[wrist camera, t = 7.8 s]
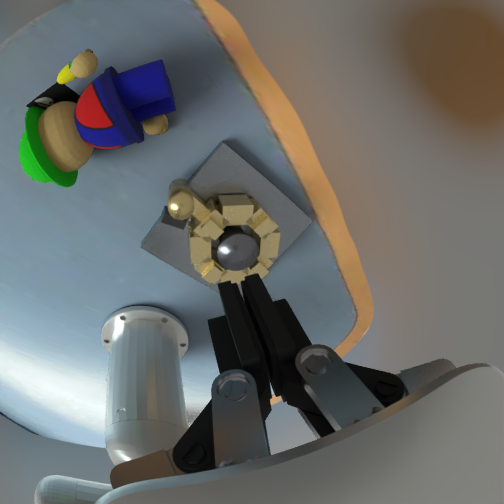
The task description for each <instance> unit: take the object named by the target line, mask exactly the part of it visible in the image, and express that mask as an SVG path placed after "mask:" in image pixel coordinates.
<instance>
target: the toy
mask: <svg viewBox="0 0 504 504" xmlns="http://www.w3.org/2000/svg"><path fill="white" fill-rule="evenodd" d="M97 65H98V60H97V57H96V56H95V55H94V54H93V51H92V50H90V49H87V50H85V52H82V53H80V54H79V55H78V56H77V57H76V58H75V59H74V60H73V61H72V62H70V63H69V64H68V65H66V66H65V67H64V68H63V69H62V70H61V72H60V73H59V75H58V77H57V83H56V84H54V85H53V86H51V87H50V88H49V89H47V90H46V91H45V92H43V93H42V94H41V95H39V96H38V97H37V98H35V99H34V100H33V101H32V102H30V103H29V104H28V105H27V107H29V109H28V111H27V113H26V117H25V132H24V133H23V135H22V138H21V141H20V145H19V159H20V162H21V165H22V168H23V169H24V171H25V172H26V174H27V175H28V176H29V177H31V178H32V179H34V180H36V181H38V182H44V183H47V182H54V183H56V184H58V185H60V186H62V187H70V186H72V185H74V184H75V182H76V179H77V175H78V169H79V168H80V167H82V166H83V165H84V164H85V163H86V162H87V161H88V160H89V158H90V156H91V154H92V152H93V149H94V147H96V148H100V149H115V148H120V147H124V146H127V145H130V144H133V143H135V142H137V143H140V142H142V141H144V133H143V129H142V126H141V123H140V122H141V121H144V123H143V128H144V130H145V132H146V133H148V134H151V135H155V134H159V135H160V134H163V133H165V132H167V131H168V122H167V121H168V119H167V117H166V116H165V115H164V114H166V113H170V112H173V111H176V108H175V102H174V97H173V93H172V89H171V85H170V81H169V78H168V76H167V75H166V71H165V67H164V64H163V61H162V60H158V61H155V62H151V63H148V64H145V65H142V66H139V67H136V68H133V69H130V70H128V71H125V72H122V73H119V74H118V73H117V72H116V70H115V69H114V68H113V67H112V66H111V67H109V68H107V69H106V70H105V72H104V73H103V74H101V75H100V76H98V77H97V78H96V79H95V80H94V81H93V82H92V83H91V84H90V85H89V86H88V87H87V88H86V89H85V90H84V92H83V93H82V95H81V96H79V95H78V94H77V93H75V92H74V91H73V90H71V89H70V88H69V87H67V86H66V85H65V83H68V82H70V81H72V80H73V79H75V78H76V77H79V78H85V77H88V76H90V75H91V74H92V73H93V72H94V71H95V70H96V68H97Z"/></svg>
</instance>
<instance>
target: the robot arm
mask: <svg viewBox="0 0 504 504" xmlns="http://www.w3.org/2000/svg"><path fill="white" fill-rule="evenodd" d="M240 283H241V288H242V293H243V298H244V300H243V298H242V295H241V293H240V290H239V287H238V285H237V283H231V281H230V280H229V281H225V282H221V283H218V284H217V285H218V289H219V293H220V296H221V300H222V304H223V308H224V312H225V315H224V316H221V317H217V318H213V319H209V320H208V325H209V330H210V334H211V338H212V343H213V347H214V351H215V355H216V360H217V364H218V368H219V372H220V374H219V375H218V376H217V377H216V378H215V380H214V382H213V384H212V389H211V395H212V399H211V400H210V402H209V403H208V404H207V406H206V407H205V408H204V409H203V411H202V412H201V413H200V415H199V416H198V417H197V418H196V420H195V421H194V422H193V423H192V425H191V426H190V427H189V425H188V419H187V413H186V406H185V399H184V392H183V385H182V377H181V369H180V359H181V358H182V357H183V356H184V354H185V353H186V351H187V349H188V343H189V342H188V334H187V330H186V329H185V327H184V325H183V324H182V323H181V321H180V320H179V319H178V318H176V317H175V316H174V315H172V314H170V313H168V312H167V311H164V310H161V309H159V308H155V307H150V306H130V307H126V308H122V309H120V310H118V311H116V312H114V313H113V314H112V315H110V316H109V317H108V318H107V320H106V321H105V323H104V325H103V329H102V336H101V339H102V343H103V346H104V348H105V349H106V351H107V352H108V353H109V355H110V359H109V370H108V375H107V376H106V382H107V397H106V423H105V444H106V448H107V451H108V454H109V457H110V458H111V460H112V462H113V463H114V465H115V467H114V468H113V469H112V470H111V473H110V482H111V485H110V484H103V483H98V482H92V481H87V480H82V479H76V478H71V477H66V476H60V475H50V476H47V477H45V478H43V479H42V480H41V481H40V482H39V483H38V485H37V488H36V492H35V504H504V374H503V373H502V372H501V371H500V370H499V369H498V368H496V367H495V366H493V365H490V364H487V363H474V364H468V365H465V366H461V367H458V368H456V366H455V365H454V364H453V363H452V362H451V361H449V360H447V359H437V360H434V361H431V362H428V363H425V364H422V365H419V366H415V367H412V368H409V369H405V370H401V371H400V372H399V374H395V375H394V374H391V373H387V372H383V371H379V370H375V369H371V368H367V367H362V366H358V365H354V364H350V363H347V362H344V361H343V360H342V359H341V358H340V357H339V356H338V355H337V353H336V352H335V351H334V350H332V349H331V348H330V347H328V346H325V345H320V344H315V345H312V344H311V342H310V340H309V338H308V337H307V335H306V333H305V332H304V330H303V328H302V326H301V325H300V323H299V321H298V319H297V318H296V316H295V314H294V312H293V311H292V309H291V307H290V306H289V304H288V302H287V301H286V299H281V300H278V301H274V302H273V301H272V299H271V297H270V295H269V293H268V291H267V289H266V287H265V285H264V284H263V282H262V280H261V278H260V276H259V274H258V273H255V274H252V275H248V276H245V280H243V281H240ZM269 381H270V382H269ZM270 383H271V386H272V388H273V391H274V393H275V396H276V397H278V396H281V397H282V400H283V402H286V401H287V403H288V405H291V406H294V407H296V408H297V410H298V412H299V413H300V415H301V416H302V418H303V419H304V421H305V422H306V424H307V425H308V427H309V428H310V429H311V431H312V432H313V434H314V435H315V437H316V438H317V440H315V441H312V442H309V443H307V444H304V445H301V446H298V447H295V448H292V449H289V450H286V451H283V452H280V453H277V454H274V455H271V452H270V446H269V440H268V435H267V429H266V423H265V420H266V418H267V417H268V415H269V413H270V412H271V410H272V409H271V404H270V399H271V398H272V394H271V388H270Z"/></svg>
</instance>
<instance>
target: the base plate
mask: <svg viewBox="0 0 504 504" xmlns="http://www.w3.org/2000/svg"><path fill="white" fill-rule="evenodd" d="M188 182H189V184H190V186H191V190H192V191H193V192H194V193H195V194H196V195H197V196H198V197H199V198H200V199H202V200H203V201H204V202H205V203H207V202H208V201H209V200H210V199H212V200H214V201H215V202H216V203H217V204H218V195H247V196H248V198H249V199H251V198H252V197H253V198H254V199H255V200H256V201H257V202H258V203H259V204H260V205H261V206H262V207H263V208H264V209H265V210H266V212H267V213H268V214H269V215H270V216H271V217H272V219H273V220H274V221H275V222H276V224H277V225H278V226H279V227H278V228H277V229H278V230H279V231H280V241H279V248H278V256H277V257H274V258H271V259H272V261H273V262H275V261H276V260H277V259H278V258H279V257H280V256H281V254H282V253H283V252H284V251H285V250H286V249H287V248H288V247H289V246H290V245H291V244H292V243H293V242H294V241H295V240H296V239H297V238H298V237H299V236H300V234H301V233H302V232H303V231H304V230H305V229H306V228H307V227H308V226H309V225H310V224H311V223H312V222H313V221H312V220H311V219H310V218H309V217H308V216H307V215H306V214H305V213H304V212H303V211H302V210H301V209H300V208H299V207H297V206H296V205H295V204H294V203H293V202H292V201H291V200H290V199H289V198H288V197H286V196H285V195H284V194H283V193H282V192H281V191H280V190H279V189H277V188H276V187H275V186H274V185H273V184H272V183H271V182H270V181H268V180H267V179H266V178H265V177H264V176H263V175H262V174H260V173H259V172H258V171H257V170H256V169H255V168H253V167H252V166H251V165H250V164H249V163H248V162H246V161H245V160H244V159H243V158H242V157H240V156H239V155H238V154H237V153H236V152H234V151H233V150H232V149H231V148H230V147H228V146H227V145H226V144H225V143H223V142H222V141H221V142H220V143H219V145H218V146H217V147H216V148H215V149H214V150H213V152H212V153H211V154H210V155H209V156H208V157H207V159H206V160H205V161H204V162H203V163H202V164H201V166H200V167H199V168H198V169H197V170H196V172H195V173H194V174H193V175H192V177H191V178H190V179H189V180H188ZM192 217H193V215H191V216H190V217H189V218H187V219H185V220H177V219H175V218H173V217H172V216H171V215H170V214H169V211H168V207H167V206H165V207H164V209H163V212H162V214H161V216H160V218H159V219H158V220H157V222H156V223H155V224H154V226H153V227H152V228H151V230H150V231H149V233H148V234H147V235H146V237H145V238H144V240H143V241H142V243H141V248H142V249H144V250H145V251H147V252H149V253H150V254H152V255H154V256H155V257H157V258H159V259H161V260H162V261H164V262H166V263H167V264H169V265H171V266H173V267H174V268H176V269H178V270H179V271H181V272H183V273H185V274H186V275H188V276H190V277H192V278H193V279H195V280H197V281H199V282H201V283H202V284H204V285H206V286H208V287H210V288H211V289H213V290H215V291H217V292H219V289H218V285H217V284H218V283H220V280H218V281H217V282H216V283H215V284H214V283H211V284H210V283H209V282H207V281H206V280H205V279H203V278H202V275H201V274H200V273H199V272H197V271H196V270H195V269H194V263H193V264H191V258H190V251H189V227H188V224H192V220H191V218H192ZM223 230H224V232H223V233H222V234H221V235H220V236H219V237H218V238H217V239H216V240H214V239H212V240H211V248H213V249H214V250H215V251H216V252H217V256H218V259H219V262H220V264H221V265H222V266H223V267H224V268H226V269H228V270H231V271H240V270H244V269H246V268H248V267H250V266H251V265H252V264H253V263H254V262H255V261H256V259H257V257H258V253H259V249H258V245H257V243H256V241H255V239H254V238H253V229H252V228H251V227H250V226H249V225H229V226H226V227H225V228H224V229H223ZM237 285H238V287H239V290H240V293H241V295H243V293H242V288H241V284H237Z"/></svg>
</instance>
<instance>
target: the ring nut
mask: <svg viewBox="0 0 504 504" xmlns="http://www.w3.org/2000/svg"><path fill="white" fill-rule="evenodd" d="M168 211H169V214H170V215H171V216H172V217H173V218H175V219H177V220H185V219H187V218H189V217H190V216H191V215H193V217H192V218H191V220H192V224H188V227H189V251H190V258H191V264H193V263H194V269H195V270H196V271H197V272H199V273H200V274H201V275H202V278H203V279H205V280H206V281H207V282H209V283H210V284H211V283H214V284H215V283H216V282H217V281H218V280H220V283H221V282H225V281H229V280H230V281H231V283H237V284H241V283H240V281H243V280H245V276H248V275H252V274H255V273H258V274H259V276H260V278H261V279H262V278H263V277H264V276H266V275H267V274H268V273H269V270H268V268H269V267H270V266H271V265H272V264H273V263H274V262H273V261H272V259H271V258H274V257H277V256H278V248H279V241H280V231H279V230H278V229H277V228H278V227H279V226H278V225H277V224H276V222H275V221H274V220H273V219H272V217H271V216H270V215H269V214H268V213H267V212H266V210H265V209H264V208H263V207H262V206H261V205H260V204H259V203H258V202H257V201H256V200H255V199H254V198H253V197H252V198H251V199H249V198H248V196H247V195H218V204H217V203H216V202H215V201H214V200H212V199H210V200H209V201H208V202H207V203H205V202H204V201H203V200H202V199H200V198H199V197H198V196H197V195H196V194H195V193H194V192H193V191H192V190H191V186H190V184H189V182H188V181H186V180H185V179H176V180H174V181H172V182H171V184H170V185H169V193H168ZM229 225H249V226H250V227H251V228H252V229H253V238H254V239H255V241H256V243H257V245H258V249H259V253H258V257H257V259H256V261H255V262H254V263H253V264H252V265H251V266H250V267H248V268H246V269H244V270H240V271H231V270H228V269H226V268H224V267H223V266H222V265H221V264H220V262H219V259H218V256H217V252H216V251H215V250H214V249H213V248H211V240H212V239H214V240H216V239H217V238H218V237H219V236H220V235H221V234H222V233H223V232H224V230H223V229H224V228H225V227H226V226H229Z"/></svg>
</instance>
